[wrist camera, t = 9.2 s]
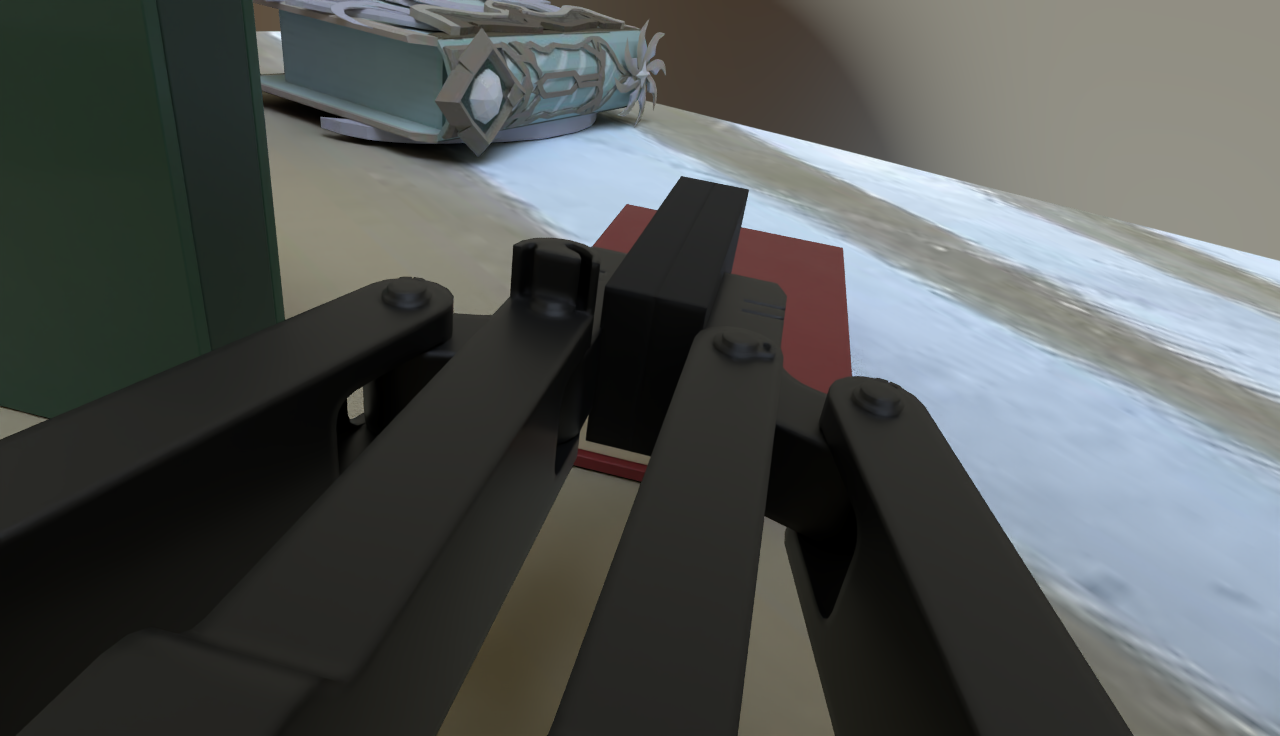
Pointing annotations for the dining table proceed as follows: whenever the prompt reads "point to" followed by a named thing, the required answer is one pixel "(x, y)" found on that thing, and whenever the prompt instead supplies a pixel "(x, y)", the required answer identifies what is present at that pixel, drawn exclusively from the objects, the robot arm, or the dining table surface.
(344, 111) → the ornate book
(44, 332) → the green book
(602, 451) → the burgundy book
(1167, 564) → the dining table surface
